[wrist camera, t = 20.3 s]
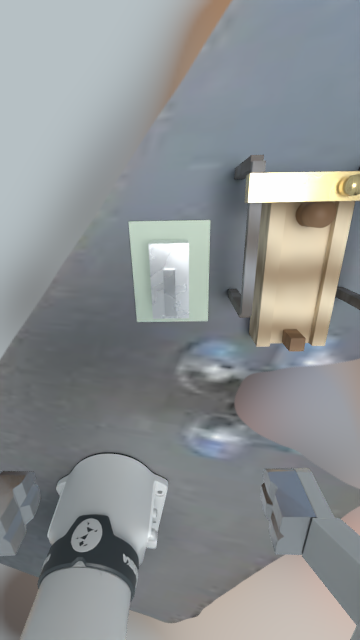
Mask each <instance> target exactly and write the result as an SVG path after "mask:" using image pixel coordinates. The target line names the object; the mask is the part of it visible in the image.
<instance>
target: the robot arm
mask: <svg viewBox="0 0 360 640" xmlns="http://www.w3.org/2000/svg"><path fill="white" fill-rule="evenodd" d="M35 479H36V476H35V473H34V471H0V556H15V555H16V553H17V551H18V549H19V547H20V545H21V543H22V541H23V539H24V537H25V535H26V533H27V530H26V524H27V523H28V522H29V521H31V520H32V519H33V518H34V516H35V514H36V512H37V510H38V507H39V503H40V499H41V496H40V488H39V486H37V485H36V484H35V483H34V481H35ZM263 479H264V483H263V484H262V485H261V503H262V508H263V512H264V515H265V517H266V518H267V519H268V520H269V521H270V525H269V534H270V537H271V541H272V544H273V548H274V551H275V554H292V555H293V554H294V555H302V557H303V558H304V559H305V561H306V562H307V563H308V564H309V566H310V567H311V568H312V569H313V571H314V572H315V573H316V574H317V576H318V577H319V578H320V580H321V581H322V582H323V583H324V585H325V586H326V587H327V588H328V590H329V591H330V592H331V593H332V595H333V596H334V597H335V598H336V600H337V601H338V602H339V604H340V605H341V606H342V607H343V609H344V610H345V611H346V612H347V614H348V615H349V616H350V618H351V619H352V620H353V621H354V622H355V624H356V625H357V626H356V628H355V631H354V633H353V635H352V637H351V639H350V640H360V536H359V535H358V534H357V533H356V532H355V531H354V530H353V529H351V528H350V527H349V526H348V525H347V524H346V523H344V522H343V521H342V520H341V519H340V518H334V516H333V514H332V512H331V510H330V508H329V506H328V504H327V502H326V500H325V498H324V496H323V494H322V492H321V490H320V488H319V486H318V484H317V482H316V480H315V478H314V476H313V474H312V472H311V471H310V470H309V469H308V468H295V469H292V468H276V469H264V471H263ZM167 489H168V481H167V480H166V479H164V478H162V477H160V476H158V475H155V474H153V473H152V472H151V471H150V470H149V469H148V468H147V467H146V466H144V465H143V464H142V463H140V462H139V461H137V460H135V459H132V458H130V457H127V456H123V455H118V454H99V455H94V456H91V457H88V458H86V459H84V460H82V461H81V462H79V463H78V464H77V465H76V466H75V468H74V469H73V470H72V472H71V473H70V474H69V475H68V476H66V477H64V478H62V479H61V480H59V481H58V484H57V487H56V490H57V492H58V494H59V495H60V498H59V501H58V504H57V507H56V509H55V512H54V515H53V518H52V521H51V524H50V527H49V530H48V534H47V537H48V538H49V541H50V543H51V545H52V546H51V548H50V550H49V553H48V555H47V558H46V559H45V561H44V564H43V566H42V569H41V575H40V578H39V581H38V589H39V590H38V593H37V595H36V598H35V601H34V604H33V606H32V609H31V611H30V614H29V617H28V619H27V622H26V624H25V627H24V630H23V632H22V635H21V638H20V640H126V633H127V624H128V615H129V607H130V602H131V601H132V599H133V597H134V593H135V589H136V586H137V581H138V570H139V565H140V564H141V563H142V562H143V558H144V554H145V550H146V548H147V547H148V548H152V549H155V548H156V545H157V535H158V528H159V523H160V519H161V515H162V511H163V506H164V502H165V498H166V494H167Z"/></svg>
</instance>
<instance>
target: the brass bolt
mask: <svg viewBox="0 0 360 640" xmlns="http://www.w3.org/2000/svg"><path fill="white" fill-rule="evenodd" d="M327 201H360V171H341V172H291V173H250V174H248V175H246V190H245V203H274V202H327Z"/></svg>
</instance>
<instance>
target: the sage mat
mask: <svg viewBox="0 0 360 640" xmlns="http://www.w3.org/2000/svg"><path fill="white" fill-rule="evenodd" d="M129 233H130V245H131V257H132V269H133V280H134V292H135V304H136V316H137V322H175V321H208V293H209V251H210V220H179V221H129ZM180 239H188V242H189V318H178V319H153V313H152V296H151V279H150V262H149V246H148V244H149V243H150V242H151V241H152V240H180Z"/></svg>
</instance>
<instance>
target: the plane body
mask: <svg viewBox="0 0 360 640" xmlns="http://www.w3.org/2000/svg"><path fill="white" fill-rule="evenodd" d="M263 159H264V155H251V156H250V157H249V158H247V159H246V160H245V161H244V162H242V163H241V164H240V165H239V166H237V167H236V168H235V176H234V179H245V178H246V175H248V174H250V173H265V164H266V161H263ZM359 171H360V168H359ZM354 205H355V201H327V202H274V203H248V209H247V223H246V236H245V250H244V264H243V278H242V292H241V294H240V293H239V291H238V290H237V289H228V298H229V299H230V301H231V303H232V305H233V307H234V308H235V310H236V312H237V314H238V316H239V317H240V318H247V317H250V315H251V317H250V328H249V334H250V336H251V337H252V339H253V341H254V343H255V344H256V346H257V347H264V346H270V343H283V344H284V345H285V347H286V348H287V349H288V350H289V351H304V346H305V343H310V344H311V345H312V346H325V342H326V337H327V333H328V328H329V323H330V318H331V314H332V309H333V304H334V300H335V296H336V297H337V298H339V299H341V300H343V301H345V302H346V303H348V304H350V305H352V306H354V307H356V308H357V309H359V310H360V295H359V294H357V293H354V292H352V291H350V290H348V289H346V288H344V287H337V285H338V281H339V276H340V271H341V266H342V262H343V257H344V252H345V247H346V243H347V238H348V233H349V228H350V224H351V219H352V214H353V209H354Z"/></svg>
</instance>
